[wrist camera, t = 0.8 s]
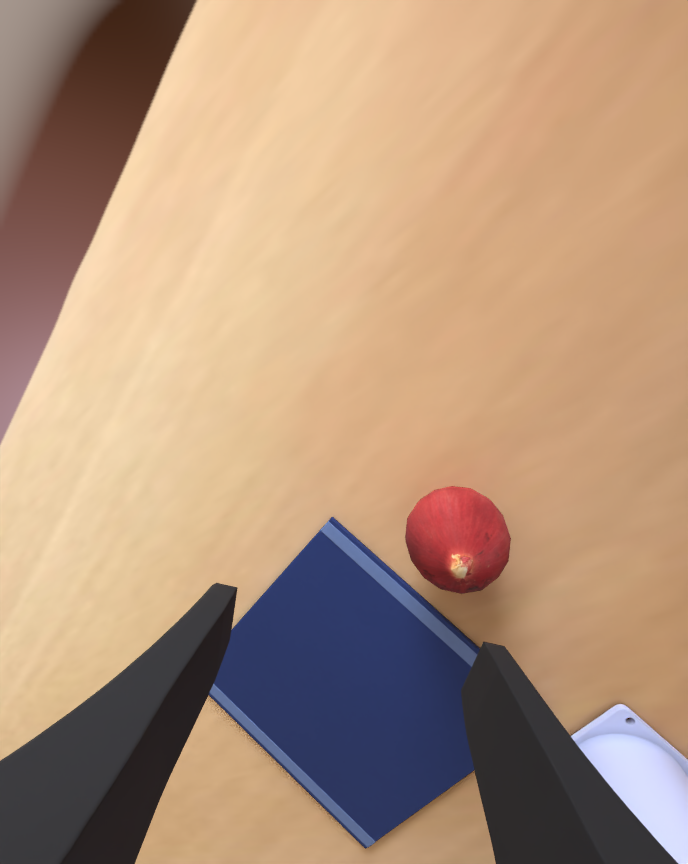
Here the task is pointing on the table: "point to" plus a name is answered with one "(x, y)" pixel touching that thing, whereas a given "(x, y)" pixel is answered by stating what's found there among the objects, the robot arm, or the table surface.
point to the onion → (458, 539)
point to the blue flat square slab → (351, 685)
